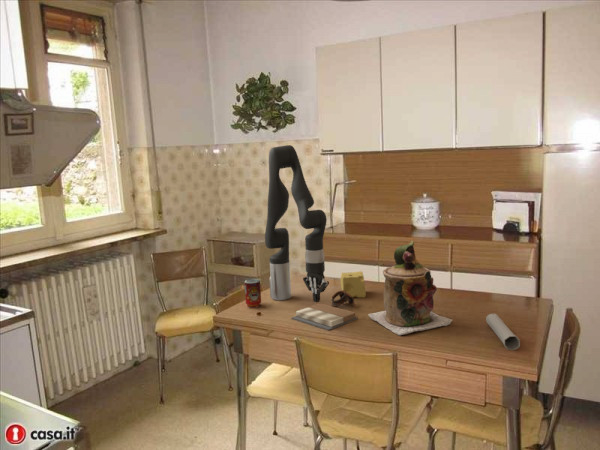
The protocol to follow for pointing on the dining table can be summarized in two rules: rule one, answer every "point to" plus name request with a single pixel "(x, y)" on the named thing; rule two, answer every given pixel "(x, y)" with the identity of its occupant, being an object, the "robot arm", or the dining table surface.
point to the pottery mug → (342, 298)
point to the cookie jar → (408, 296)
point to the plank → (319, 317)
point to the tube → (503, 332)
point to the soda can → (252, 292)
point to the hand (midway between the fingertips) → (316, 301)
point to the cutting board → (346, 315)
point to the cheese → (353, 284)
